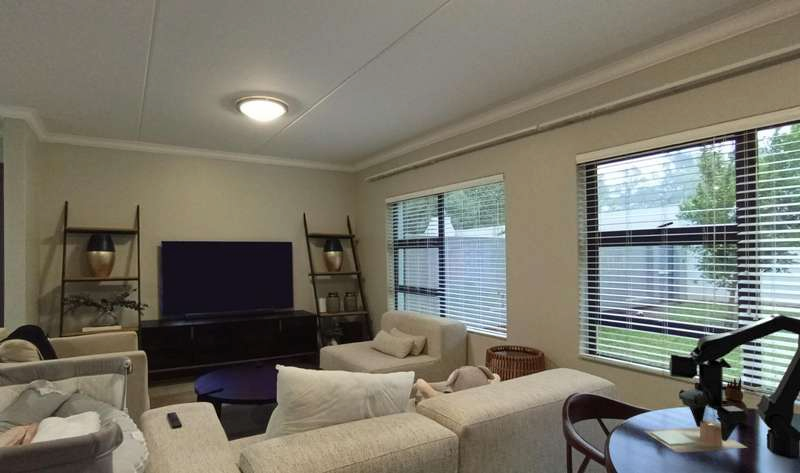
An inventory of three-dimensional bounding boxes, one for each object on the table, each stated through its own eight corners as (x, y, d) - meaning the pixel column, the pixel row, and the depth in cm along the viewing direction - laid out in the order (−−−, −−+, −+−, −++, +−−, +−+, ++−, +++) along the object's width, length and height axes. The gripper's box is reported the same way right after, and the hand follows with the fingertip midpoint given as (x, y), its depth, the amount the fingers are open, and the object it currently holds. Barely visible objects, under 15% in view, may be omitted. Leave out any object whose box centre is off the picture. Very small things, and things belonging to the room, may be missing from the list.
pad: (695, 443, 128) (695, 442, 128) (669, 445, 127) (669, 443, 127) (674, 431, 136) (674, 430, 136) (650, 433, 135) (650, 431, 135)
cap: (726, 444, 127) (726, 427, 127) (710, 445, 127) (710, 428, 127) (711, 436, 133) (711, 419, 133) (696, 437, 132) (695, 420, 132)
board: (747, 451, 126) (747, 447, 126) (676, 456, 123) (676, 452, 123) (708, 429, 139) (707, 426, 139) (643, 434, 137) (643, 430, 137)
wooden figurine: (751, 424, 143) (750, 378, 143) (739, 427, 141) (739, 380, 141) (728, 416, 149) (728, 372, 149) (717, 419, 147) (717, 374, 147)
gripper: (663, 372, 138) (663, 422, 138) (711, 393, 120) (712, 450, 119) (695, 370, 139) (696, 420, 139) (748, 391, 121) (749, 447, 121)
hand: (711, 433), depth 130 cm, fingers open, 9 cm apart
